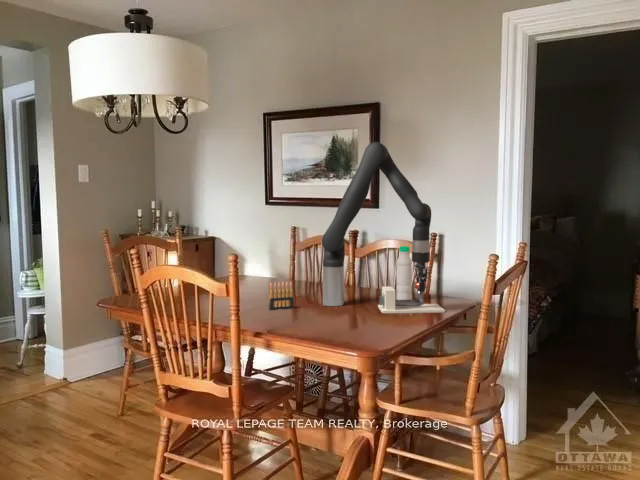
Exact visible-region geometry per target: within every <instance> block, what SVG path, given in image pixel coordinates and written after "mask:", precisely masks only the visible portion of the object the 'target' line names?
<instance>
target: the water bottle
mask: <svg viewBox="0 0 640 480" xmlns="http://www.w3.org/2000/svg"><path fill="white" fill-rule="evenodd" d="M398 250H399V251H398V252H399V256H398V258H397V260H396V273H395V274H396V285H395V286H396V289H395V292H396V293H395V300H413V299H412V298H413V295H412V290H413V286H412V282H413V269H412V265H413V262H412V258H411V256H410V254H409V253H410V250H411V249H410V246H407V245H402V246H399V247H398Z"/></svg>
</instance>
